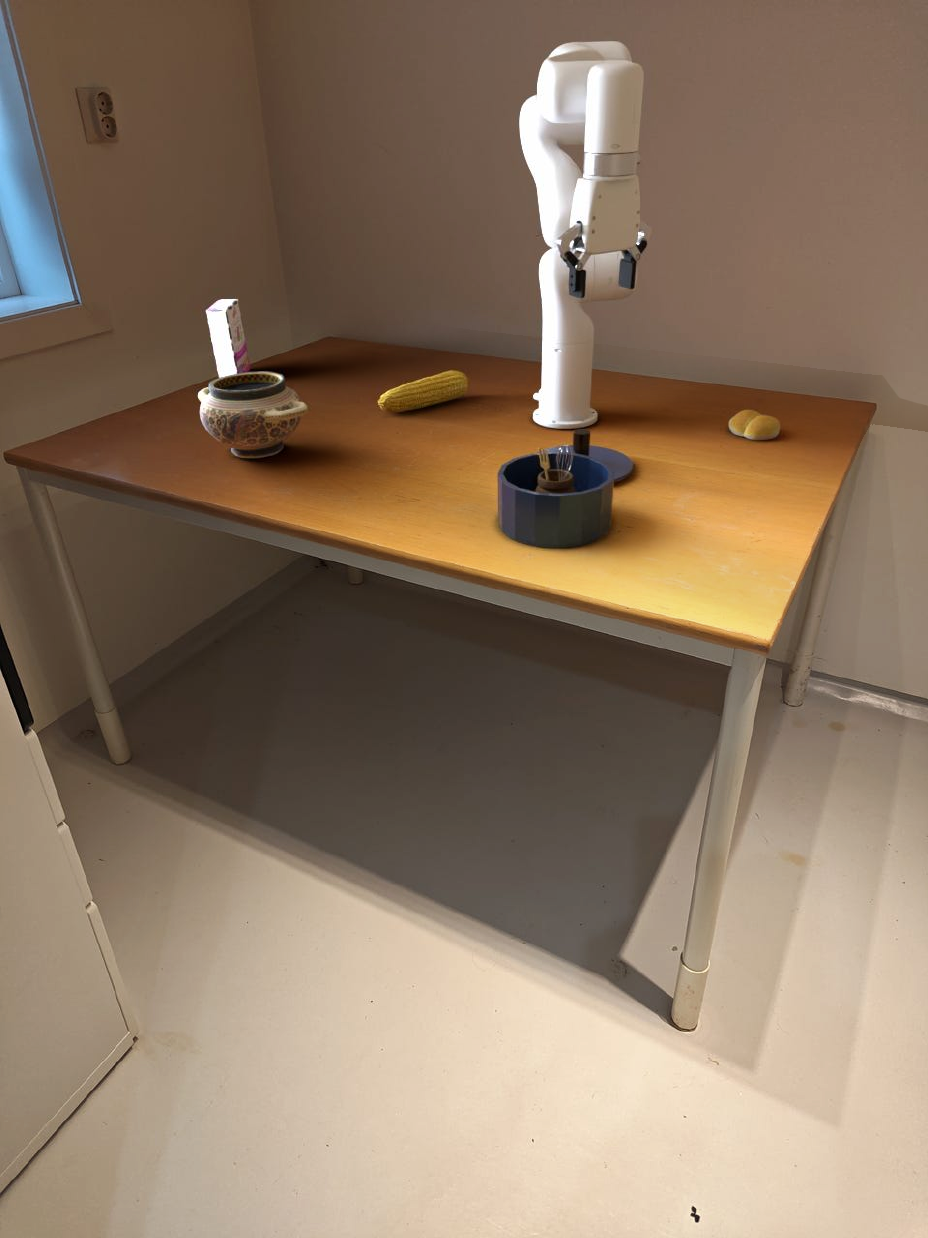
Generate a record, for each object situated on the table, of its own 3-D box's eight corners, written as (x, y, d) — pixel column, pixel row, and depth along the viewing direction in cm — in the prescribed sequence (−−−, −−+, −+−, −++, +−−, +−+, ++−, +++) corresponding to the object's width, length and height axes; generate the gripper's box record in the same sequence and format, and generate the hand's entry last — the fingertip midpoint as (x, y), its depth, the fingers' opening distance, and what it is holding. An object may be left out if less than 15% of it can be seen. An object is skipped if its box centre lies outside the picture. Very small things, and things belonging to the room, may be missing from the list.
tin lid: (508, 465, 146) (508, 427, 142) (587, 444, 153) (589, 408, 150) (571, 498, 133) (573, 458, 129) (654, 473, 141) (658, 435, 137)
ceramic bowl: (332, 466, 155) (337, 383, 149) (255, 473, 141) (259, 381, 136) (245, 441, 168) (248, 364, 163) (167, 445, 154) (168, 360, 149)
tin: (477, 517, 128) (476, 467, 124) (563, 491, 135) (565, 444, 131) (542, 559, 116) (544, 505, 112) (633, 528, 123) (638, 477, 119)
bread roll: (763, 444, 151) (767, 423, 149) (721, 432, 157) (724, 411, 154) (788, 433, 155) (792, 412, 153) (746, 422, 161) (749, 401, 159)
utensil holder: (582, 518, 125) (586, 441, 119) (556, 532, 122) (559, 453, 115) (551, 507, 129) (553, 432, 123) (525, 521, 125) (526, 444, 119)
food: (456, 393, 182) (455, 365, 179) (472, 399, 178) (471, 370, 175) (373, 413, 171) (371, 384, 168) (389, 420, 167) (386, 391, 164)
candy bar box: (230, 370, 202) (218, 299, 194) (251, 369, 202) (239, 298, 194) (218, 383, 193) (204, 309, 184) (239, 383, 193) (227, 308, 184)
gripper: (639, 159, 126) (629, 279, 135) (545, 168, 119) (541, 295, 128) (673, 163, 120) (661, 288, 130) (577, 173, 113) (571, 305, 123)
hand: (601, 291), depth 129 cm, fingers open, 9 cm apart
